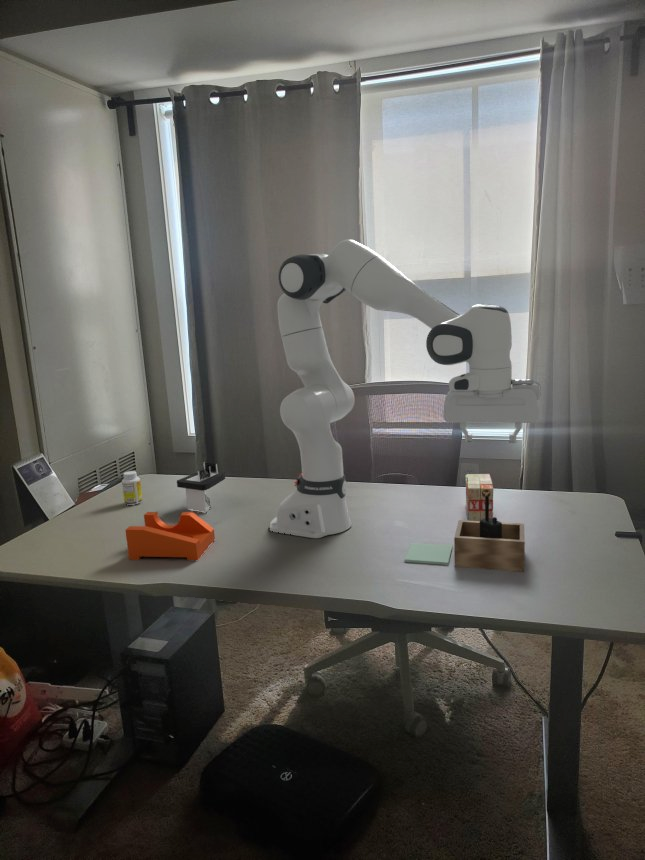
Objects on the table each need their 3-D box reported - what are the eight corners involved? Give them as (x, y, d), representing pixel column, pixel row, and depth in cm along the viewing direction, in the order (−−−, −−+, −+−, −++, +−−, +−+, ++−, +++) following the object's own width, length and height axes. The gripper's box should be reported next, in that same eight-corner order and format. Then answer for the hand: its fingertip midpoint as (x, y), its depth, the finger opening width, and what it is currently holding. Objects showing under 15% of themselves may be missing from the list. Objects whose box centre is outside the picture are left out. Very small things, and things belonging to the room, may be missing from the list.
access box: (454, 566, 140) (454, 537, 138) (458, 547, 150) (458, 520, 148) (524, 571, 135) (524, 541, 134) (523, 551, 145) (524, 523, 144)
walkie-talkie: (503, 560, 141) (503, 498, 138) (492, 564, 140) (492, 501, 137) (487, 553, 145) (487, 493, 142) (477, 557, 144) (476, 496, 141)
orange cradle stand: (129, 561, 154) (125, 529, 152) (151, 541, 166) (147, 511, 164) (198, 562, 151) (194, 530, 149) (215, 542, 163) (212, 512, 161)
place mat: (404, 561, 144) (404, 559, 144) (411, 544, 153) (411, 542, 153) (448, 565, 141) (448, 562, 141) (452, 547, 150) (452, 545, 150)
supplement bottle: (139, 499, 201) (135, 469, 199) (145, 503, 197) (141, 472, 195) (122, 503, 198) (118, 472, 196) (128, 507, 193) (124, 476, 191)
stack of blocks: (465, 505, 179) (465, 464, 177) (487, 505, 178) (487, 464, 175) (468, 533, 159) (467, 487, 156) (493, 533, 157) (493, 487, 155)
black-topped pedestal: (210, 530, 171) (205, 484, 168) (142, 518, 184) (136, 475, 182) (267, 499, 195) (264, 458, 192) (204, 490, 208) (200, 452, 205)
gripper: (540, 377, 134) (539, 439, 137) (444, 378, 140) (446, 438, 143) (541, 381, 128) (540, 446, 131) (441, 383, 134) (442, 444, 137)
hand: (490, 442), depth 137 cm, fingers open, 8 cm apart
